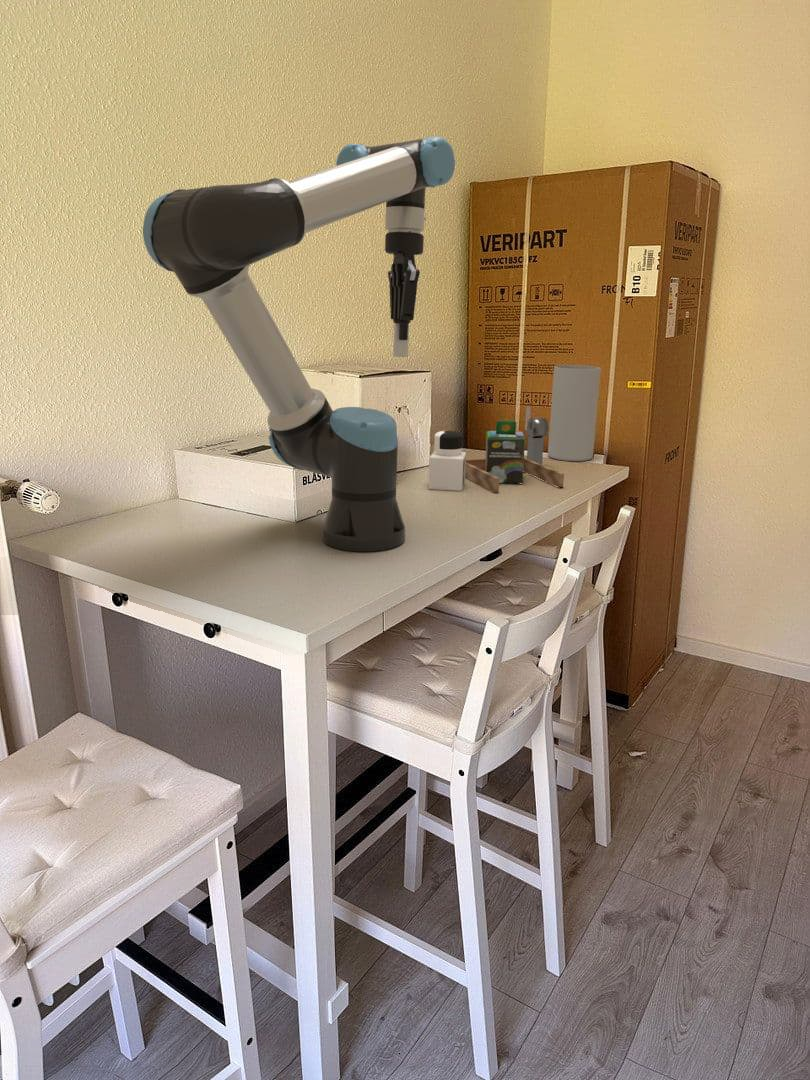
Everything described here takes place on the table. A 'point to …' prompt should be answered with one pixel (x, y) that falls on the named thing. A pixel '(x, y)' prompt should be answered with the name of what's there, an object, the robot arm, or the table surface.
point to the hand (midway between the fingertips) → (400, 356)
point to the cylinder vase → (573, 412)
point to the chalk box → (505, 453)
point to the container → (447, 462)
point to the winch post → (535, 436)
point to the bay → (491, 482)
